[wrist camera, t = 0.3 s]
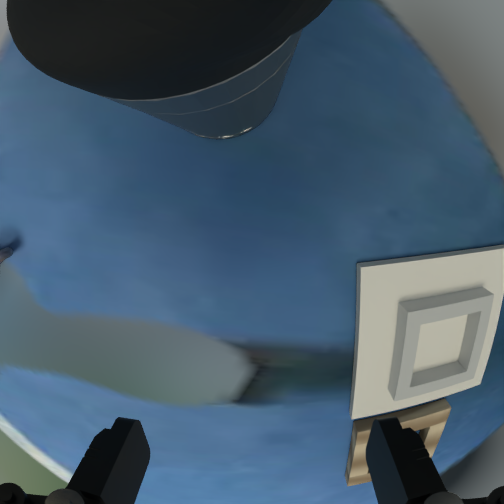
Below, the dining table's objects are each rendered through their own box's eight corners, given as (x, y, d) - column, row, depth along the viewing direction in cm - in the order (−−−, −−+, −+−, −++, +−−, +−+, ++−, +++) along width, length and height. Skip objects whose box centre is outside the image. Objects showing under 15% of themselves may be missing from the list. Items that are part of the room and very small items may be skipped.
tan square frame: (353, 421, 33) (357, 432, 31) (444, 398, 32) (451, 407, 30) (345, 476, 36) (347, 486, 34) (423, 456, 36) (428, 465, 34)
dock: (356, 263, 27) (369, 276, 24) (503, 244, 27) (522, 253, 23) (349, 412, 32) (356, 432, 29) (475, 379, 32) (488, 393, 28)
